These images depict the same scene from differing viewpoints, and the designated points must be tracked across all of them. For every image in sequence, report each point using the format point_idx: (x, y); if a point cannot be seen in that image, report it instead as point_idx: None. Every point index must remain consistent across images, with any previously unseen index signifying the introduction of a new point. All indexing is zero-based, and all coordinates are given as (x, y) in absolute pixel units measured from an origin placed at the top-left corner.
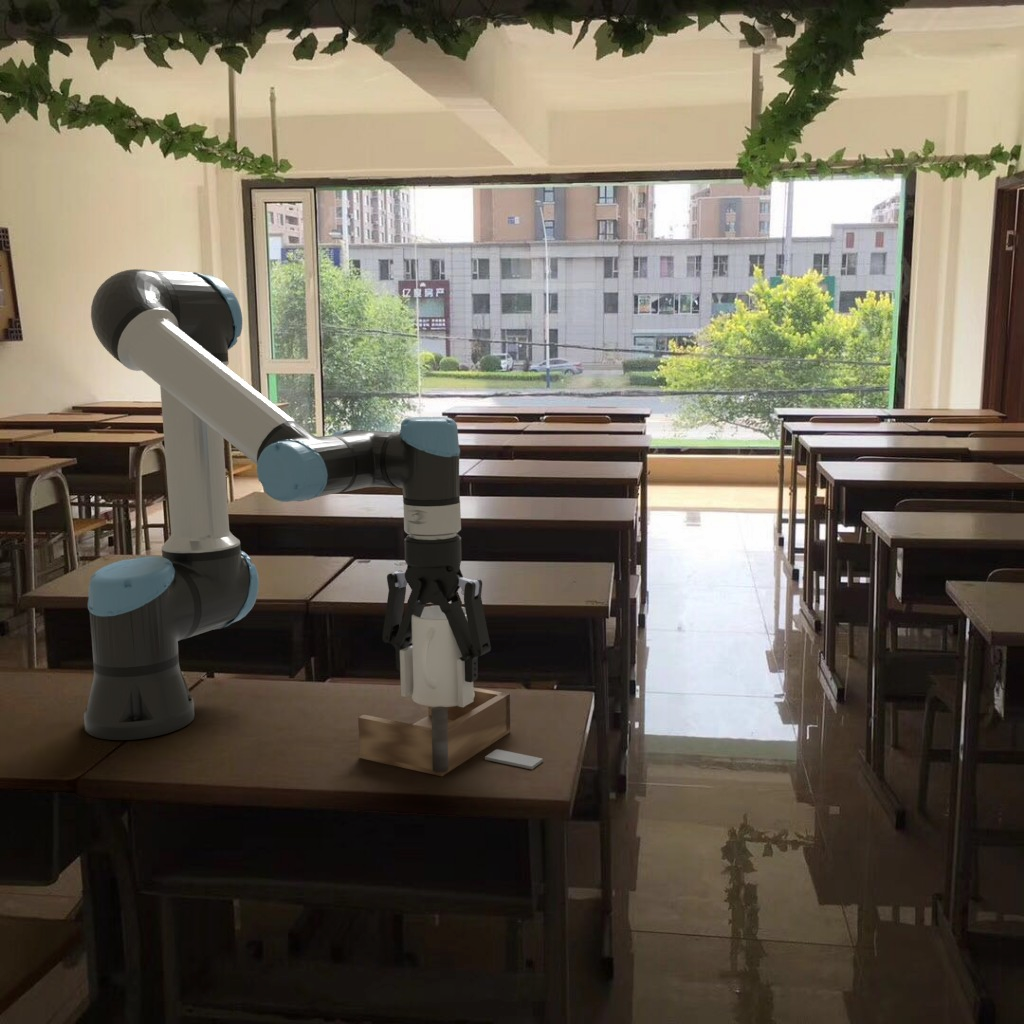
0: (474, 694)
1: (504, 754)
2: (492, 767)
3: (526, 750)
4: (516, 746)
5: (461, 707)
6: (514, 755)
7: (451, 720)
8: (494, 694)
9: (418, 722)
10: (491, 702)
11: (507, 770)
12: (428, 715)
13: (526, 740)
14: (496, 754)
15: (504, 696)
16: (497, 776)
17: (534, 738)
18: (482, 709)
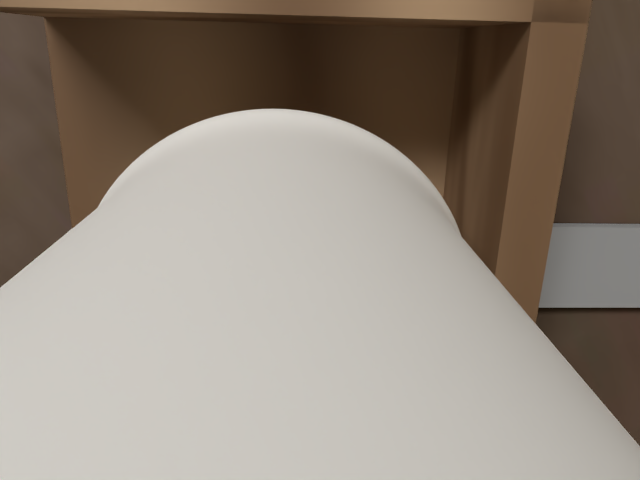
0: (455, 222)
1: (581, 259)
2: (564, 343)
3: (634, 152)
4: (582, 132)
5: (243, 19)
6: (620, 249)
7: (191, 26)
8: (501, 20)
9: (70, 128)
10: (543, 174)
11: (621, 341)
12: (43, 16)
13: (602, 48)
14: (551, 270)
15: (582, 32)
16: (605, 392)
17: (630, 8)
18: (536, 293)
